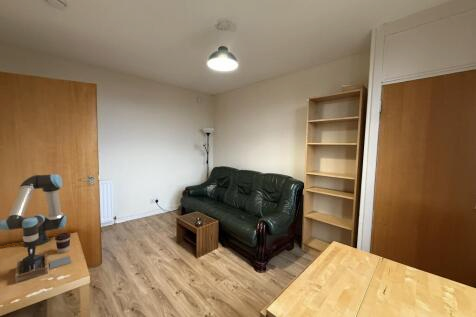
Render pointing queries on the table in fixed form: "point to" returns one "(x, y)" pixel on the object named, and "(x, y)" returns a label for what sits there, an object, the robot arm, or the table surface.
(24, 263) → the box
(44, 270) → the shallow wooden tray
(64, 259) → the pad
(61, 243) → the coffee cup
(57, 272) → the table surface
